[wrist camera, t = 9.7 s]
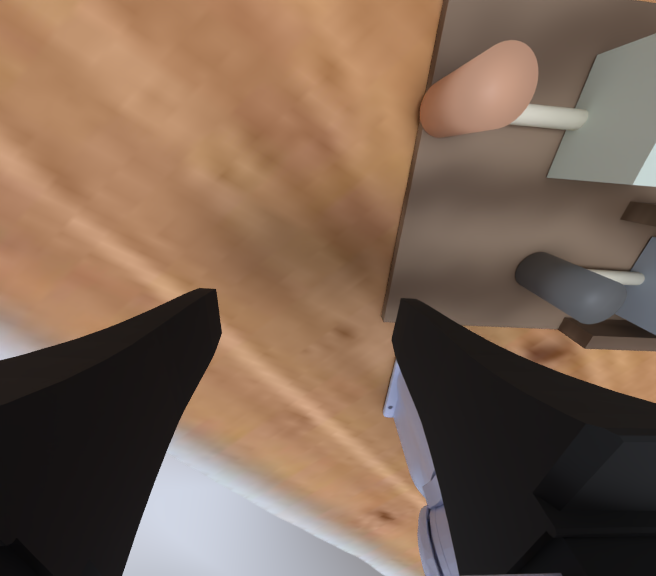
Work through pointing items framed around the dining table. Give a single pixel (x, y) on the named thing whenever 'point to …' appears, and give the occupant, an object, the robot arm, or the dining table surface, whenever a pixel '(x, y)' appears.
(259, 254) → the dining table surface
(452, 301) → the shelf
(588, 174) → the sage cube mallet
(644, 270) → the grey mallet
